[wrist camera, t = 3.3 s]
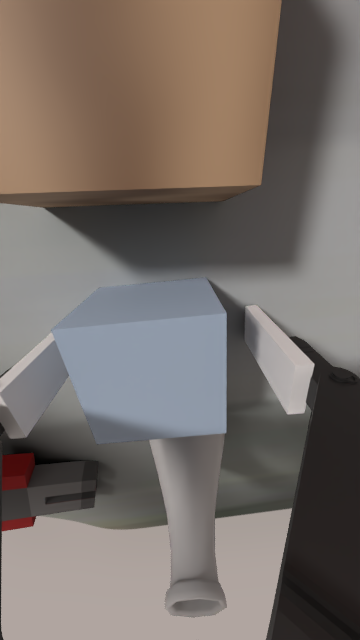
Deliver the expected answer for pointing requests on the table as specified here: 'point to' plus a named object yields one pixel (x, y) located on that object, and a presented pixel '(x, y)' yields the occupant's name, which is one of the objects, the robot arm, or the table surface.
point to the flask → (191, 520)
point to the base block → (134, 100)
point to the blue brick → (148, 360)
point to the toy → (44, 488)
